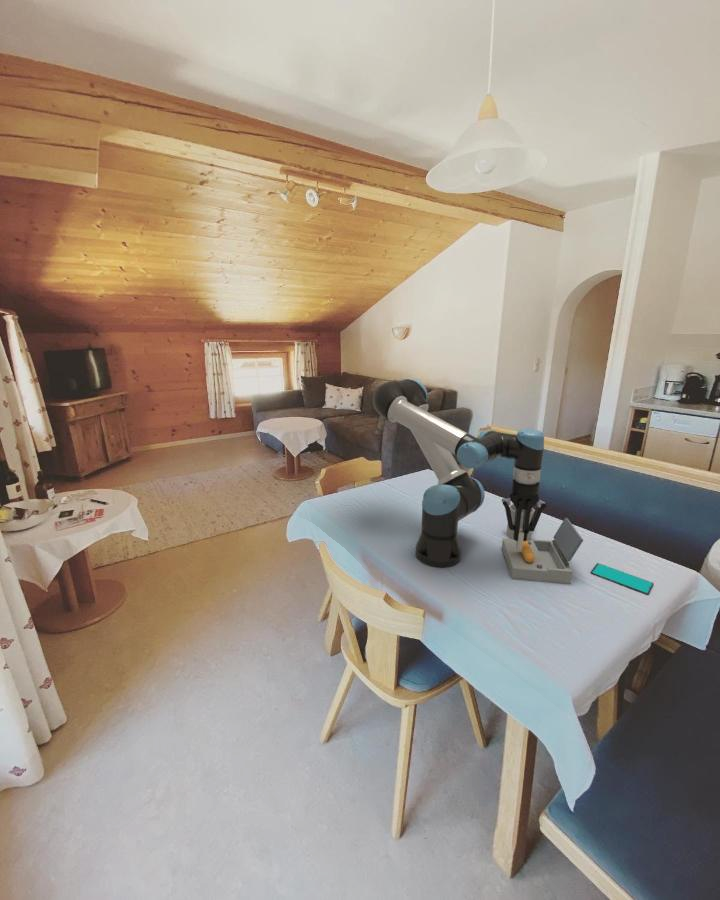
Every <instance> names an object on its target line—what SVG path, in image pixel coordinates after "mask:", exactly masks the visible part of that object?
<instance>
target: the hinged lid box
mask: <svg viewBox="0 0 720 900" xmlns="http://www.w3.org/2000/svg"><path fill="white" fill-rule="evenodd" d="M527 542H528V544H529V546H530V548H531V550H532V552H533V555H534V557H535V558H534V561H533V562H527V561H525V559H524V557H523V554H522V552H520V551H517V549H516V541H515V540H514V539H512V538H502V541H501V550H502V553H503V555H504V556H503V557H504V559H505V561H506V565H507V568H508V571H509V575H510V577H511V579H512V580H513V579H514V580H522V581H523V580H524V581H532V582H533V581H534V582H535V581H536V582H546V583H556V584H558V583H559V584H567V585H568V584H569V585H571V582H572V577H573V570H572V569H571V566H570V565H569V566H566V565H565V563H564V561H563V560H562V558H561V556H560V554H559V553H558V551H557V549H556V547H555V546H554V544H553V542H552V539H551V540H549V539H537V538H536V539H534V538H533V539H532V540H527Z"/></svg>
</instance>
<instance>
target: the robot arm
mask: <svg viewBox="0 0 720 900" xmlns="http://www.w3.org/2000/svg"><path fill="white" fill-rule="evenodd" d="M372 404H373V408H374V410H375V411H376V412H377V413H378V414H379V416H381V417H382V418H384V419H385V420H387V421H389V422H391V423H399V424H400V425H401V426H404V427H405V428H407V429H409V430H410V432H411V433H412V435H413V437H414V439H415V440H416V442H417V444H418V446H419V447H420V450H421V452H422V454H423V456H424V457H425V459H426V460H427V462H428V464H429V466H430V467H431V469H432V471H433V473H434V474H435V476H436V478H437V480H438V481H437V484H435V485H433V486H430V487H428V488H427V489H426V490H425V491H424V492H423V496H422V501H421V507H422V508H421V509H422V510H421V533H420V535H419V537H418V540H417V542H416V545H415V556H416V558H417V559H418V561H420V563H423V564H425V565H428V566H430V567H435V568H448V567H453V566H455V565H457V564H459V562H460V561H461V559H462V549H461V544H460V541H459V538H458V528H459V527H458V526H459V525H458V524H459V521H461V520H463V519H464V518H466V517H467V516H469V515H471V514H473V513H475V512H476V511H477V510H478V509H479V508H480V507H481V506H482V505H483V503H484V501H485V496H486V495H485V489H484V486H483V484H482V483H481V482H480V481H479V480H478V479H475V478H474V477H471V476H470V475H469V473H468V471H467V470H464V469H461V468H460V466H459V464H460V465H461V466H462V467H463V468H466V469H471V470H472V469H476V468H479V467H482V466H484V465H485V464H487V463H489V462H491V461H493V460H495V459H498V458H505V459H509V460H514V464H513V466H514V467H513V475H512V478H513V480H512V486H511V493H510V494H509V497H507V498H506V499H505V498H502V499H501V503H502V505H503V506H504V509H505V515H506V520H507V525H508V526H509V529H510V530H514V535H513V538H514V540H515V541H516V549H517V551H520V552H522V548H523V541H526V540H527V534H528V533H529V531H532V532H535V529H536V527H537V525H538V522H539V520H540V517H541V515H542V514H543V513H542V512H543V511H544V510H545V509H546V508H547V504H546V503H545V501H544V500H541V499H540V497H539V491H540V479H541V473H542V463H543V456H544V455H543V454H544V449H545V434H544V432H543V431H541V430H538V429H533V428H532V429H531V428H530V429H529V428H523V429H519V430H517V433H516V434H513V433H506V432H500V431H496V430H481V431H480V433H479V434H478V435H477V437H475V436H474V435H472V434H470V433H468V432H466V431H464V430H462V429H461V428H458V427H457V426H455V425H453V424H451V423H449V422H447V421H445V420H443V419H442V418H439V417H438V416H436V415H434V414H432V413H430V412H429V411H428V410H429V407H430V406H429V403H428V391H427V388H426V387H425V385H424V384H423V383H422V382H421V381H419V380H417V379H413V378H412V379H409V378H406V379H402V380H396V381H388V382H384V383H382V384H380V385H379V386H378V387H377V388H376V389H375V391H374V393H373V396H372ZM453 455H455V456H456V458H457V461H456V459H455V458H454V456H453ZM457 462H459V464H458V463H457ZM512 504H514V506H515V507H516V511H515V521H514V525H513V522H512V517H511V511H510V505H512ZM535 505H536V507H535ZM534 507H535V511H534V514H533V516H532V519H531V521H530V524H529V519H530V513H531V508H534ZM522 509H524V517H523V527H522V528H523V530H522V529H520V520H521V513H522Z"/></svg>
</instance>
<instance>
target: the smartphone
mask: <svg viewBox="0 0 720 900" xmlns="http://www.w3.org/2000/svg"><path fill="white" fill-rule="evenodd" d="M590 574H591V575H593V576H595V577H598V578H601V579H603V580H606V581H607V582H608V581H609V582H611V583H614V584H617V585H619V586H621V587H625V588H627V589H630V590H632V591H634V592H636V593H637V592H638V593H640V594H644V595H645V596H649V594H650V592H651V591H650V590H652V588H653V586H654V582H653V581H649V580H646V579H644V578H641V577H638V576H636V575H632V574H629V573H626V572H624V571H621V570H619V569H616V568H613V567H610V566H607V565H605V564H601V563H600V562H599V563H596V564H595V565H594V567H593V568H592V569H591V571H590Z"/></svg>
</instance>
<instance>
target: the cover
mask: <svg viewBox="0 0 720 900" xmlns="http://www.w3.org/2000/svg"><path fill="white" fill-rule="evenodd" d="M551 541H552V542H553V544H554V546H555V547H556V549H557V551H558V553H559V554H560V556H561V558H562V560H563V561H564V563H565V565H566V566H569V567H570V563H569V562H571V561H572V559H573V557H574V556H575V554H576V553H577V551H578V550H579V548H580V547H581V545H582V544H583V542H584V538H582V535H580V534H579V532H578V531H577V528H575V527H574V525H573V524H572V522H571V521H570V520H569V518H568V517H564V519H563V520H562V522H561V524H560V526H559V527H558V528H557V531H556V532H555V534H554V535H553V539H551Z"/></svg>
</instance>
